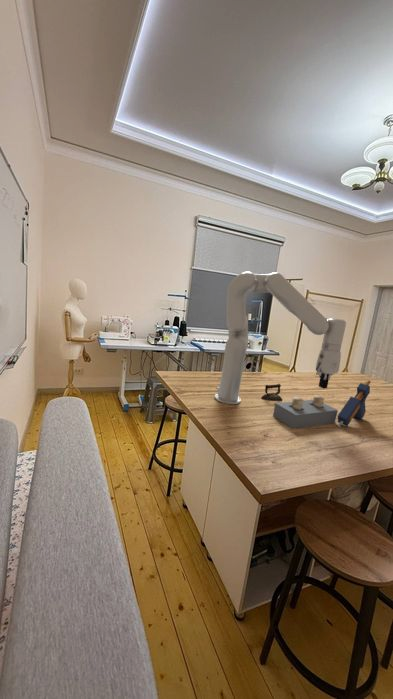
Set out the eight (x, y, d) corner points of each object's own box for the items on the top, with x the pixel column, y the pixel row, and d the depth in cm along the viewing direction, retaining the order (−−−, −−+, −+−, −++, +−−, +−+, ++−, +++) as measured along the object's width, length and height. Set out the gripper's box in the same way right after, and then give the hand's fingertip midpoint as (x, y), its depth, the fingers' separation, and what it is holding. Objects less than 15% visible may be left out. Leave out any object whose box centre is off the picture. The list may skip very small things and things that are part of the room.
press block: (272, 415, 127) (275, 403, 125) (313, 411, 139) (315, 399, 138) (293, 428, 116) (296, 415, 115) (334, 422, 129) (337, 410, 128)
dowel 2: (309, 406, 131) (311, 395, 130) (315, 405, 133) (318, 395, 132) (317, 410, 127) (319, 399, 126) (323, 409, 129) (326, 398, 128)
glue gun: (335, 442, 132) (333, 422, 124) (359, 396, 147) (359, 375, 139) (350, 448, 128) (348, 427, 120) (373, 399, 143) (373, 378, 134)
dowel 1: (288, 408, 124) (290, 397, 123) (295, 407, 127) (298, 396, 126) (296, 412, 121) (298, 401, 120) (303, 411, 123) (305, 400, 122)
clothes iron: (283, 401, 149) (284, 384, 145) (265, 407, 144) (266, 390, 140) (274, 394, 155) (275, 378, 151) (257, 400, 150) (258, 383, 146)
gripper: (327, 349, 117) (318, 391, 121) (349, 349, 124) (340, 389, 128) (312, 345, 124) (304, 385, 127) (334, 345, 131) (326, 383, 134)
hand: (322, 387), depth 128 cm, fingers closed
